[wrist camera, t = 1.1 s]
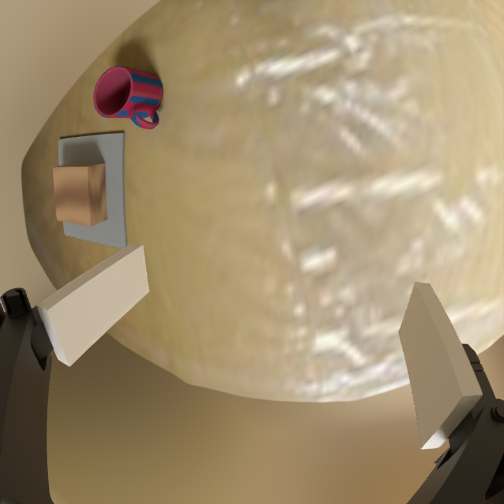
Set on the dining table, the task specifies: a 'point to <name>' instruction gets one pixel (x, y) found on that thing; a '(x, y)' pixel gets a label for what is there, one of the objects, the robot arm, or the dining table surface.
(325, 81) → the dining table surface
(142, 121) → the mug
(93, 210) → the base block
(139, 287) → the robot arm
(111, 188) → the mat
